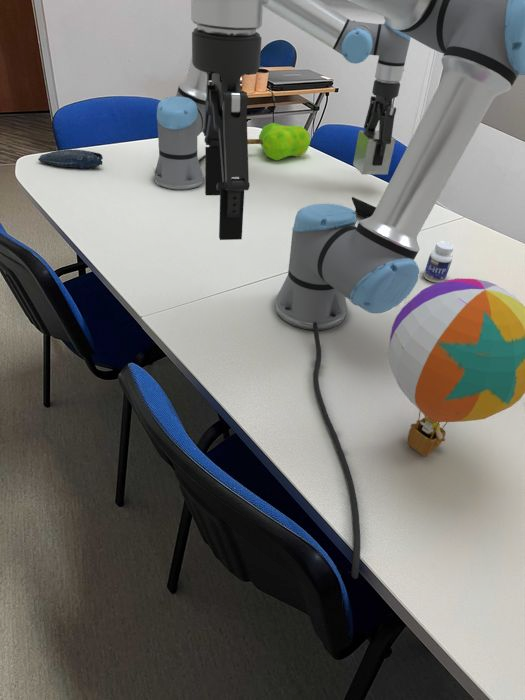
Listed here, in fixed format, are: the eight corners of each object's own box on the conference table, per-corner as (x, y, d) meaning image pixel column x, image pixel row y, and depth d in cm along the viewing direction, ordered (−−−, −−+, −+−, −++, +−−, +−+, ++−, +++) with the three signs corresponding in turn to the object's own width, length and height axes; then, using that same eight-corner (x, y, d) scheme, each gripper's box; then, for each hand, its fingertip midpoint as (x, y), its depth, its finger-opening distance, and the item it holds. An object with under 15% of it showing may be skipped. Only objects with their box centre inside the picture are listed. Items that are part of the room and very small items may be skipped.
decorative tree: (225, 119, 187) (305, 119, 192) (225, 149, 194) (302, 148, 199) (232, 134, 173) (318, 133, 179) (232, 165, 180) (315, 164, 185)
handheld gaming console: (400, 212, 153) (393, 191, 145) (389, 233, 152) (381, 212, 144) (365, 206, 159) (356, 185, 151) (355, 225, 158) (345, 205, 150)
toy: (336, 437, 84) (375, 278, 66) (409, 388, 95) (460, 239, 76) (438, 521, 73) (519, 358, 55) (507, 455, 84) (595, 300, 65)
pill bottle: (422, 279, 126) (432, 247, 121) (424, 270, 130) (434, 238, 125) (444, 285, 125) (455, 252, 120) (446, 275, 129) (457, 243, 124)
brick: (387, 174, 163) (395, 139, 156) (362, 174, 161) (368, 139, 154) (377, 164, 169) (384, 130, 162) (352, 164, 167) (359, 130, 161)
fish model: (99, 172, 164) (97, 156, 161) (35, 165, 165) (32, 149, 162) (106, 165, 170) (105, 149, 167) (44, 159, 171) (41, 143, 168)
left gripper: (415, 90, 142) (396, 172, 156) (385, 72, 158) (370, 148, 172) (390, 89, 140) (373, 172, 154) (362, 72, 156) (349, 148, 170)
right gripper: (289, 52, 47) (270, 259, 60) (240, 14, 66) (234, 179, 79) (207, 48, 45) (205, 262, 59) (181, 11, 64) (184, 179, 78)
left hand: (371, 159), depth 163 cm, fingers closed on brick, 8 cm apart
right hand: (222, 215), depth 69 cm, fingers open, 13 cm apart
